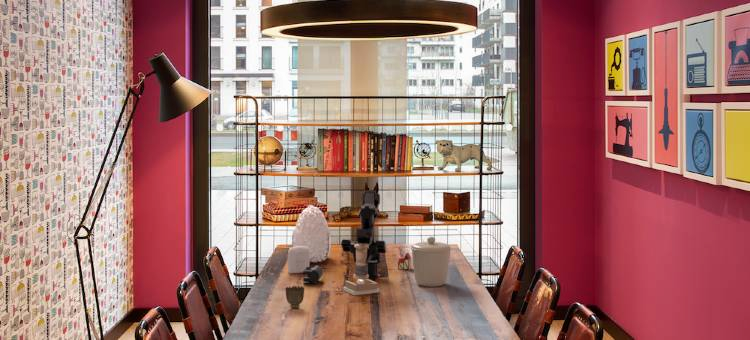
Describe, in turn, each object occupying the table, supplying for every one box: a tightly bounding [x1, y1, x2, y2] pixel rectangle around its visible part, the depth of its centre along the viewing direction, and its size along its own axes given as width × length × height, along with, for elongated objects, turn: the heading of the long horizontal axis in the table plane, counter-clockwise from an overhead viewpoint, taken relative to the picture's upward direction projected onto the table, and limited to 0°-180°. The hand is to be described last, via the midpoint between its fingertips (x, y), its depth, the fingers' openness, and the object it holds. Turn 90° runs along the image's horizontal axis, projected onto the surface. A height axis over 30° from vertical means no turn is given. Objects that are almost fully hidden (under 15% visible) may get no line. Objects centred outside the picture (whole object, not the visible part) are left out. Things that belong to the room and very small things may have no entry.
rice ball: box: [291, 204, 332, 263], centre depth 432 cm, size 28×19×28 cm
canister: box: [410, 236, 453, 288], centre depth 378 cm, size 18×18×21 cm
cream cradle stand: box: [343, 278, 381, 296], centre depth 365 cm, size 12×10×4 cm
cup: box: [285, 285, 305, 310], centre depth 336 cm, size 8×7×8 cm
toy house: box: [397, 252, 412, 271], centre depth 413 cm, size 6×7×8 cm
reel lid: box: [356, 279, 364, 285], centre depth 380 cm, size 6×6×2 cm
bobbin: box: [352, 244, 370, 280], centre depth 364 cm, size 6×6×14 cm
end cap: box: [302, 265, 324, 286], centre depth 382 cm, size 10×7×7 cm
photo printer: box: [287, 246, 310, 274], centre depth 403 cm, size 10×4×12 cm, turn 116°
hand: (360, 262), depth 363 cm, fingers closed on bobbin, 5 cm apart
